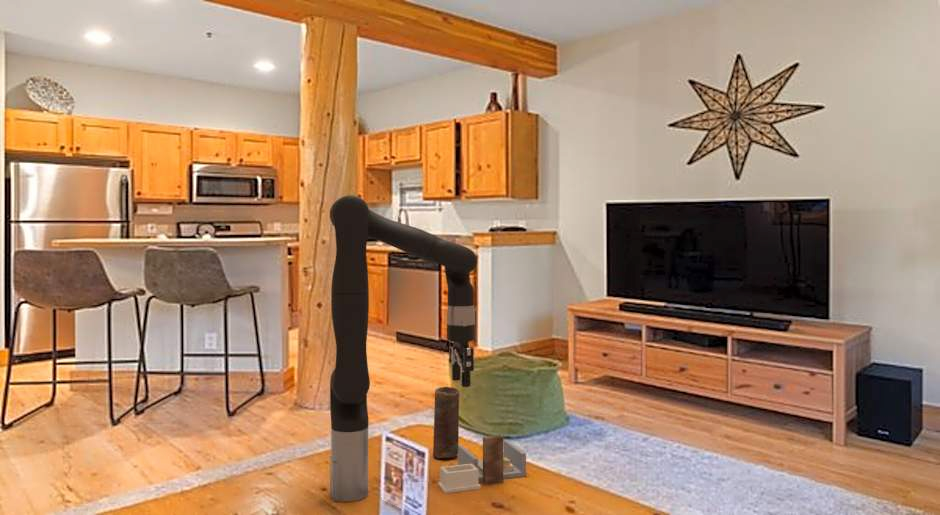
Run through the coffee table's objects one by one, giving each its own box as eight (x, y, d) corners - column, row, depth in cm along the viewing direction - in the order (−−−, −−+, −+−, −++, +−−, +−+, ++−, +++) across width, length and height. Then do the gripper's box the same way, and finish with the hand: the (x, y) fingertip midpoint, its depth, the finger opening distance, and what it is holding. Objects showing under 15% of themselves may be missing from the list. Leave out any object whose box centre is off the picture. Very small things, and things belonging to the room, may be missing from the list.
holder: (444, 493, 162) (444, 474, 162) (437, 485, 168) (437, 466, 168) (480, 488, 165) (480, 470, 165) (472, 480, 171) (472, 462, 171)
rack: (473, 482, 170) (473, 459, 169) (457, 467, 182) (457, 445, 182) (526, 476, 174) (526, 453, 174) (507, 461, 187) (507, 439, 187)
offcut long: (482, 475, 172) (482, 469, 172) (478, 471, 175) (478, 465, 175) (513, 471, 175) (513, 465, 175) (509, 467, 178) (509, 462, 178)
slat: (485, 484, 168) (485, 438, 168) (482, 482, 170) (482, 436, 170) (503, 482, 170) (503, 436, 170) (500, 480, 172) (500, 434, 172)
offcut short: (489, 468, 172) (489, 463, 172) (485, 465, 175) (485, 459, 175) (510, 465, 175) (510, 460, 175) (505, 462, 177) (505, 457, 177)
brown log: (458, 452, 194) (458, 386, 194) (459, 460, 187) (459, 391, 187) (433, 453, 194) (433, 386, 194) (433, 461, 187) (433, 392, 186)
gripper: (439, 320, 177) (440, 379, 178) (455, 326, 164) (455, 390, 164) (466, 319, 180) (466, 377, 180) (483, 324, 166) (483, 388, 166)
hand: (461, 383), depth 172 cm, fingers open, 8 cm apart
